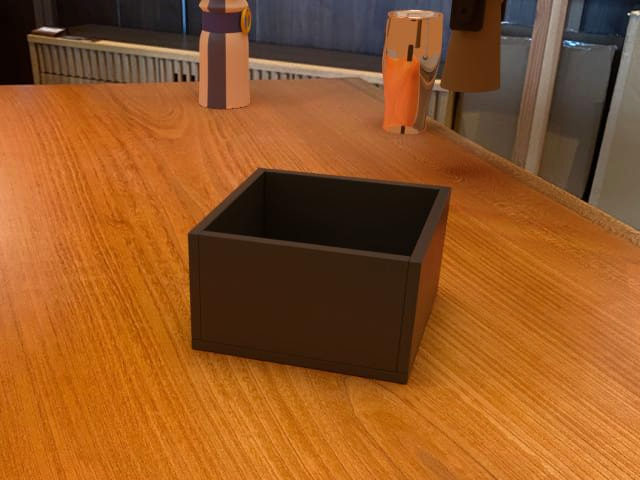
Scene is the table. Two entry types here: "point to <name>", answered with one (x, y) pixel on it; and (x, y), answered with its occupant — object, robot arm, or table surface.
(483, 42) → the cork
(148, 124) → the table surface
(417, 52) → the beer glass
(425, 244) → the bin
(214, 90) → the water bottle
